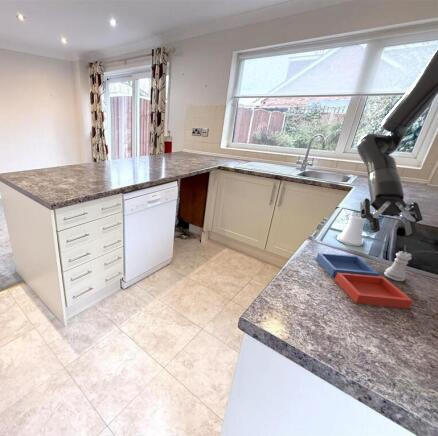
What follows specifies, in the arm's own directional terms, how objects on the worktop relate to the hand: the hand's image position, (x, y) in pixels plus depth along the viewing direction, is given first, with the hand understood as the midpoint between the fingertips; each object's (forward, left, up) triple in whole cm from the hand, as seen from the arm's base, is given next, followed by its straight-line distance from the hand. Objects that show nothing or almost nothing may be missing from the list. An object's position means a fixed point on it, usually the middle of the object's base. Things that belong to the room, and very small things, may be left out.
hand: (393, 233), depth 73 cm
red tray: (+13, +16, -11) cm, 23 cm away
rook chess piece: (+1, +7, -11) cm, 13 cm away
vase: (0, -16, -11) cm, 20 cm away
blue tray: (+13, +5, -11) cm, 18 cm away
